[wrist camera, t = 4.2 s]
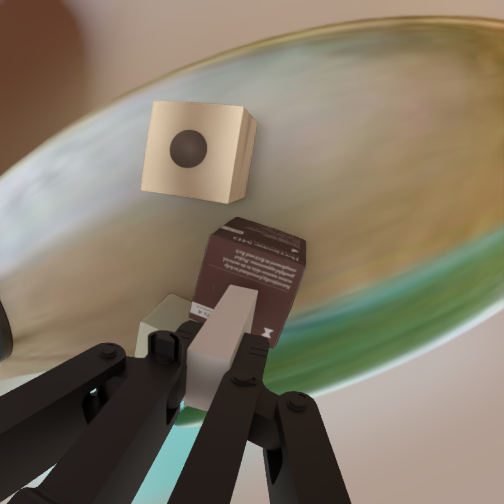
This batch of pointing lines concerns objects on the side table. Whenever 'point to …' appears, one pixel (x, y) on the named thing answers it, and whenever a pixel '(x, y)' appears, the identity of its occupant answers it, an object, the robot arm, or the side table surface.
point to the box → (251, 273)
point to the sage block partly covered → (162, 321)
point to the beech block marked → (199, 150)
